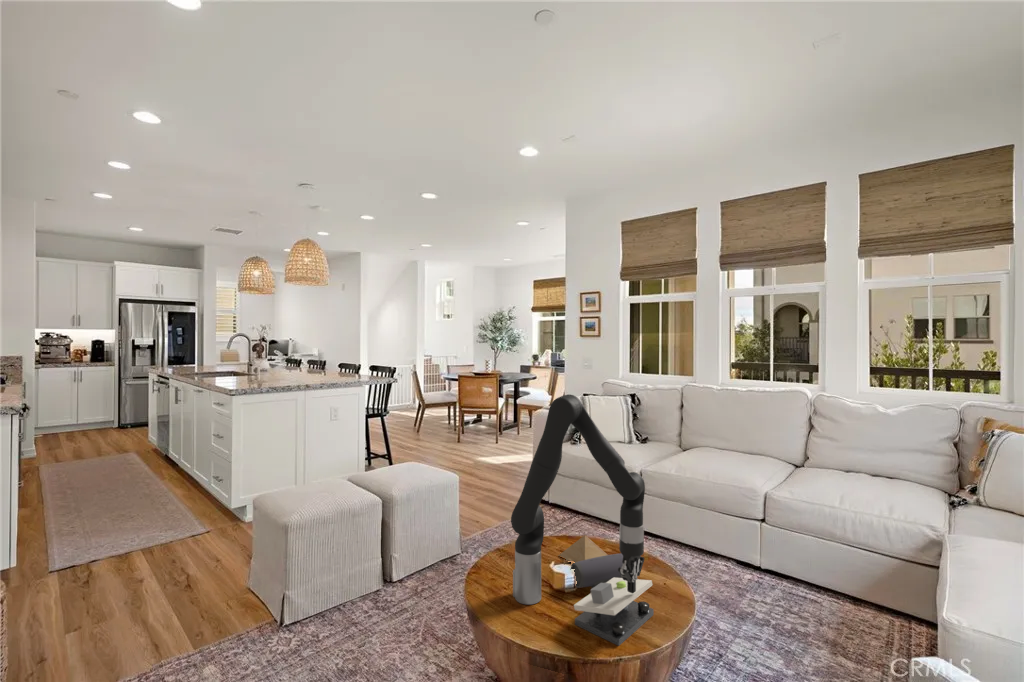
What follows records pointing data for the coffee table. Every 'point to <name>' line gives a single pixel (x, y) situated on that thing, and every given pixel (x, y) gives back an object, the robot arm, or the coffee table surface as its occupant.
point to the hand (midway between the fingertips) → (631, 591)
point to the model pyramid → (582, 550)
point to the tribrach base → (608, 620)
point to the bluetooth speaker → (597, 570)
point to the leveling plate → (615, 600)
